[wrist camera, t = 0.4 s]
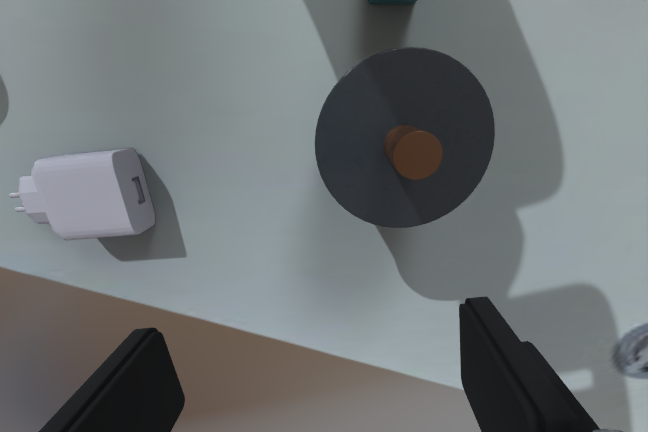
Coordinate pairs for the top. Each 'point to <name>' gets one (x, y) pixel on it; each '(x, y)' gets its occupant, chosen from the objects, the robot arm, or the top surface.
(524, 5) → the top surface
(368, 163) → the lid
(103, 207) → the charger
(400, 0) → the block
